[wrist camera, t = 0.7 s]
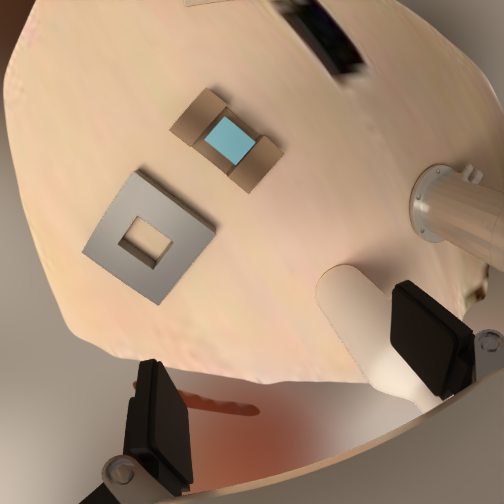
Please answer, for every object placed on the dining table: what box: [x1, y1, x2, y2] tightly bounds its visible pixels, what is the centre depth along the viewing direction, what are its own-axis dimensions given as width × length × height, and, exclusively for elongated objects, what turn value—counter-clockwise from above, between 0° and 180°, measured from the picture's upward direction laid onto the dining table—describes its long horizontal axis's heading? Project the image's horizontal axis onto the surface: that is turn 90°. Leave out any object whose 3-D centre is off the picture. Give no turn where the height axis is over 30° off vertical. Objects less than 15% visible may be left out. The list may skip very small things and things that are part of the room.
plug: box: [204, 117, 256, 165], centre depth 31 cm, size 3×4×6 cm
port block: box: [82, 170, 216, 306], centre depth 36 cm, size 12×12×2 cm
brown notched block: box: [169, 88, 284, 194], centre depth 32 cm, size 6×11×4 cm, turn 49°
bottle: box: [315, 265, 448, 414], centre depth 30 cm, size 8×8×30 cm
